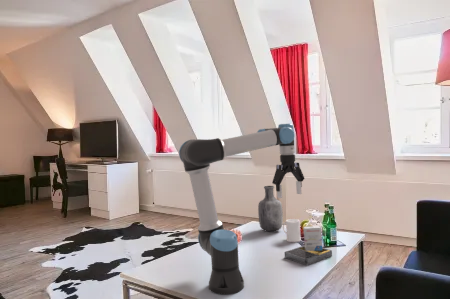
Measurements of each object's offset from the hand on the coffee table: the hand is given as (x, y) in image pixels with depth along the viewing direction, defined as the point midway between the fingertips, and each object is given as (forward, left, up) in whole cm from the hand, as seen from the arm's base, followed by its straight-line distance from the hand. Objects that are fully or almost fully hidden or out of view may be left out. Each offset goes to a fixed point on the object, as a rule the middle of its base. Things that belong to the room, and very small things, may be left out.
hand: (289, 195), depth 175 cm
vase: (+27, +47, -33) cm, 63 cm away
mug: (+23, +24, -33) cm, 47 cm away
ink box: (+12, -3, -30) cm, 32 cm away
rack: (+8, -3, -33) cm, 34 cm away
